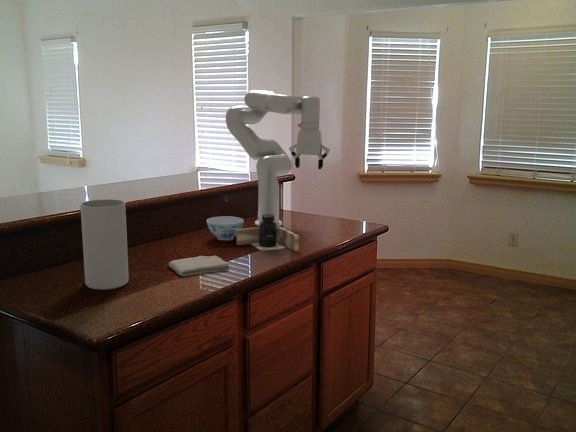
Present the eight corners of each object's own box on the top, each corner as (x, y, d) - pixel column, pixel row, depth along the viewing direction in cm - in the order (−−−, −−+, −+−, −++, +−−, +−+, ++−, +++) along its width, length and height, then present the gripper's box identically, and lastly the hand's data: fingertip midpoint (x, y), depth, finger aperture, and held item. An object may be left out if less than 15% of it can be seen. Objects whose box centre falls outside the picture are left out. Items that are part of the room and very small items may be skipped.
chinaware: (246, 234, 223) (246, 217, 221) (239, 244, 208) (240, 225, 207) (211, 233, 224) (211, 215, 223) (202, 242, 210) (202, 223, 208)
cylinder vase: (113, 274, 169) (109, 197, 164) (137, 283, 162) (133, 203, 156) (77, 283, 160) (72, 203, 155) (100, 293, 152) (95, 209, 147)
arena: (236, 244, 208) (236, 229, 207) (277, 239, 216) (277, 225, 215) (254, 256, 192) (255, 240, 191) (298, 250, 200) (298, 235, 199)
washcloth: (231, 270, 177) (231, 261, 176) (180, 278, 168) (180, 269, 167) (217, 261, 187) (217, 253, 186) (168, 268, 178) (168, 259, 177)
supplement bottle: (268, 248, 201) (269, 217, 198) (255, 245, 205) (255, 215, 203) (279, 245, 206) (280, 215, 204) (266, 242, 210) (267, 212, 208)
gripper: (287, 126, 216) (286, 168, 220) (328, 128, 211) (326, 170, 215) (292, 125, 223) (291, 166, 227) (332, 127, 218) (331, 168, 222)
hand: (308, 168), depth 221 cm, fingers open, 9 cm apart
